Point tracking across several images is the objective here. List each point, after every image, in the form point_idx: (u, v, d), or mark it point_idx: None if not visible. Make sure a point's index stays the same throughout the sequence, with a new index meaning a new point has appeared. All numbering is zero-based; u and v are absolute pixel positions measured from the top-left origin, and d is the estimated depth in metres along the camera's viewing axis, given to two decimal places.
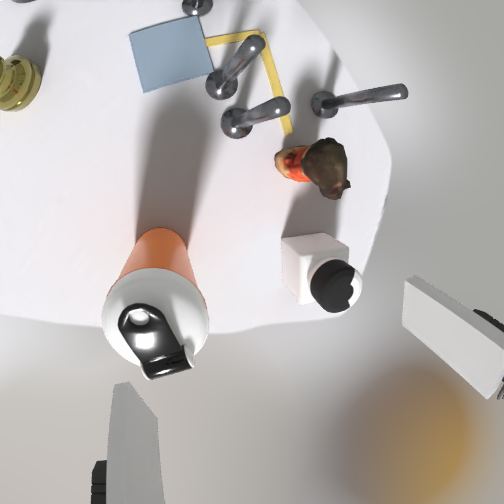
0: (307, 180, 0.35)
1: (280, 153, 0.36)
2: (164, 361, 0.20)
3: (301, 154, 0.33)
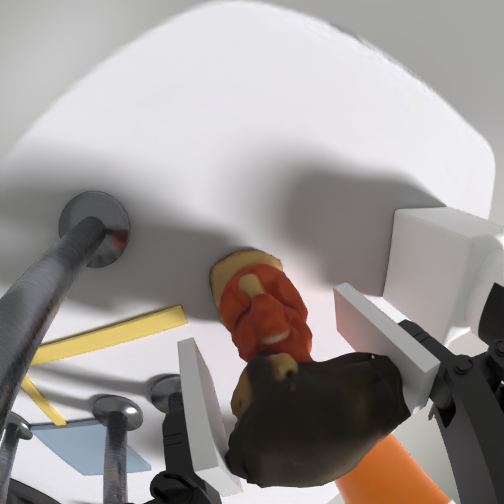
0: (305, 320, 0.14)
1: None
2: None
3: (246, 361, 0.13)
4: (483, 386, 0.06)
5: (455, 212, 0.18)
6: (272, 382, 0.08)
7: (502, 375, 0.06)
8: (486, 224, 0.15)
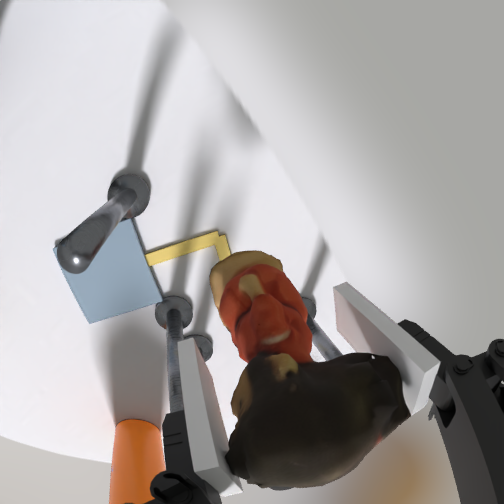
0: (305, 320, 0.14)
1: None
2: None
3: (246, 361, 0.13)
4: (483, 386, 0.06)
5: None
6: (272, 383, 0.08)
7: (502, 375, 0.06)
8: None
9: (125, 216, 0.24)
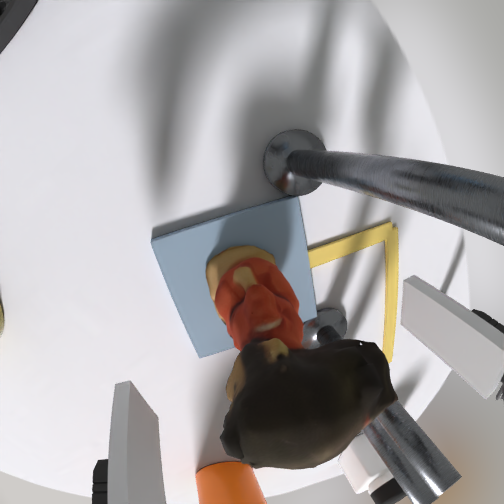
0: (297, 311, 0.15)
1: (225, 320, 0.18)
2: None
3: (241, 350, 0.14)
4: None
5: None
6: (263, 365, 0.09)
7: None
8: None
9: (291, 192, 0.17)
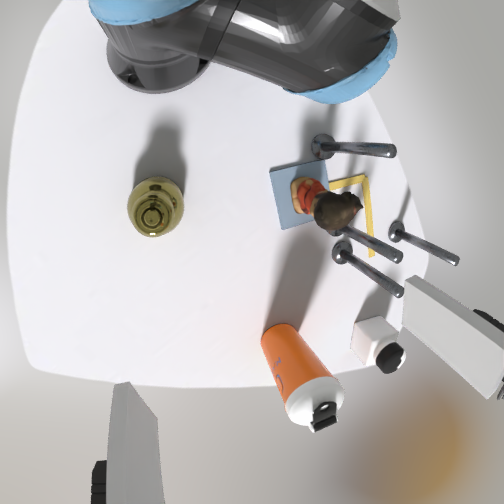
0: None
1: (296, 209, 0.43)
2: (325, 422, 0.35)
3: (309, 208, 0.39)
4: None
5: None
6: (324, 193, 0.34)
7: None
8: None
9: (322, 158, 0.42)
